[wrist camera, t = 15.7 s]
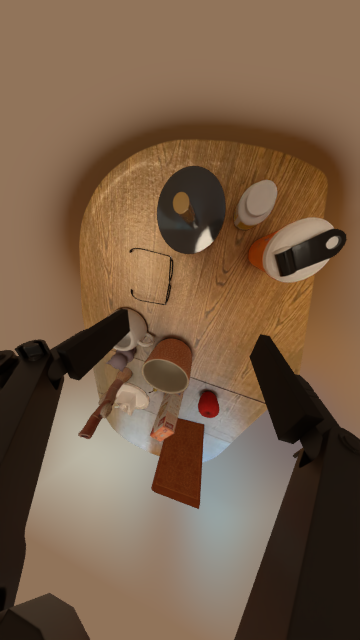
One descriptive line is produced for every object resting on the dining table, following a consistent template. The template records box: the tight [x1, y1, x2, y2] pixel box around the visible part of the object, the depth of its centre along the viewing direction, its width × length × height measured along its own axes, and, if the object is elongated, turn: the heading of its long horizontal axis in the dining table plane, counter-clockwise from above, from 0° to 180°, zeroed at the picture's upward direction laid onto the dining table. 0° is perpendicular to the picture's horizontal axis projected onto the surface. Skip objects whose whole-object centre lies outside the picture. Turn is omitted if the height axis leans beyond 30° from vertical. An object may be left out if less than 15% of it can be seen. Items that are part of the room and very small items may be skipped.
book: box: [151, 418, 204, 509], centre depth 73 cm, size 23×8×30 cm, turn 92°
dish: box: [115, 383, 150, 416], centre depth 80 cm, size 25×25×11 cm
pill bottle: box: [233, 180, 277, 230], centre depth 27 cm, size 6×6×12 cm
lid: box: [157, 166, 226, 254], centre depth 24 cm, size 14×14×9 cm
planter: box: [142, 339, 192, 394], centre depth 51 cm, size 17×17×15 cm
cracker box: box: [150, 391, 184, 441], centre depth 62 cm, size 14×6×21 cm, turn 151°
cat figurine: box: [107, 347, 136, 372], centre depth 59 cm, size 8×8×12 cm
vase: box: [78, 367, 132, 439], centre depth 61 cm, size 11×7×30 cm
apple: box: [198, 391, 219, 418], centre depth 62 cm, size 10×10×11 cm
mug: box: [107, 308, 154, 351], centre depth 52 cm, size 21×17×10 cm
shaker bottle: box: [248, 218, 346, 282], centre depth 26 cm, size 9×9×20 cm
